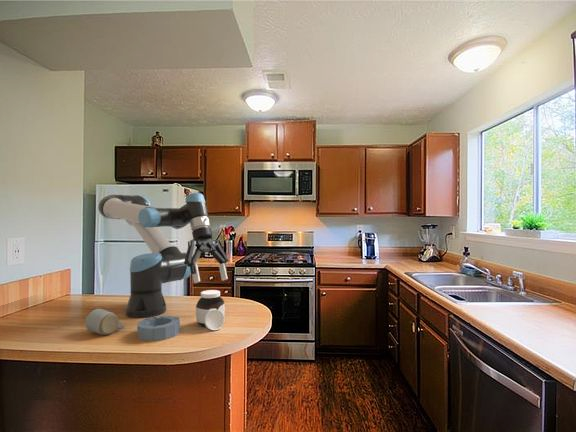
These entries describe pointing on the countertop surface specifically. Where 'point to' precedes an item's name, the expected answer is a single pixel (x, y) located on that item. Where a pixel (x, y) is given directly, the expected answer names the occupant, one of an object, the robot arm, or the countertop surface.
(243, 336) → the countertop surface
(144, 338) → the slate bowl
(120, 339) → the countertop surface
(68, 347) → the countertop surface
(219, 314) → the spread jar
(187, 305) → the countertop surface
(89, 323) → the ceramic mug
